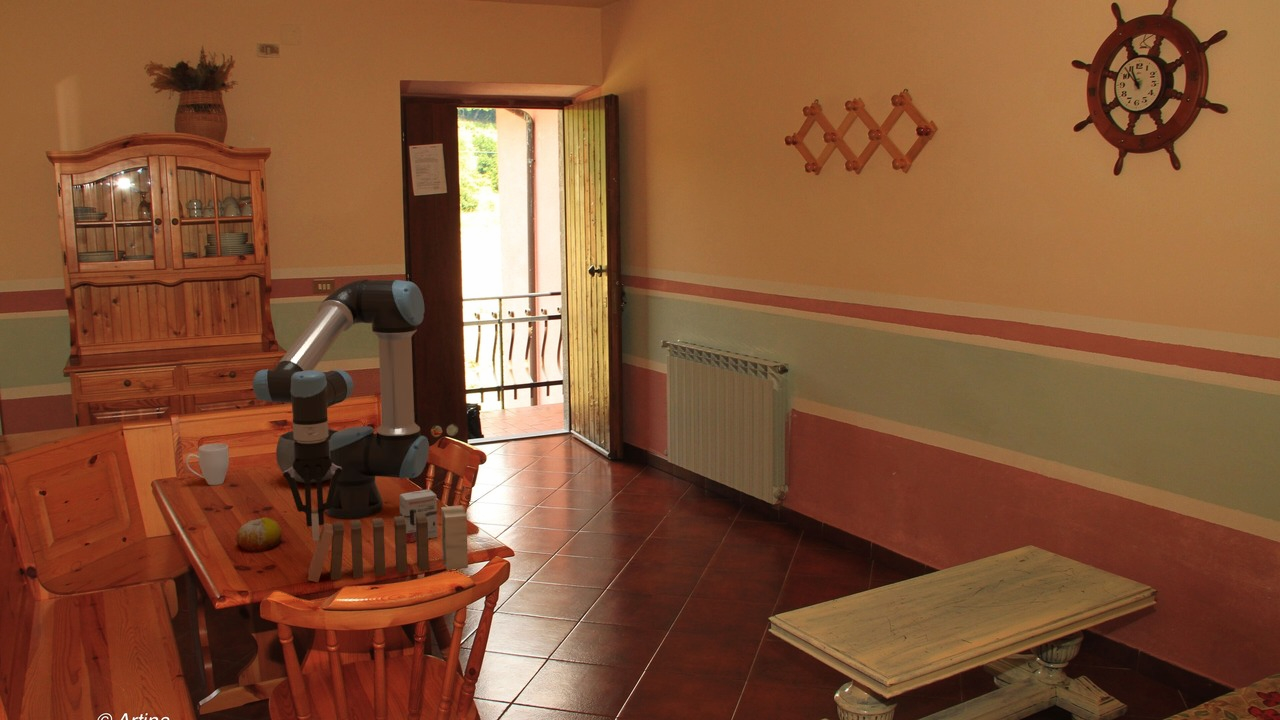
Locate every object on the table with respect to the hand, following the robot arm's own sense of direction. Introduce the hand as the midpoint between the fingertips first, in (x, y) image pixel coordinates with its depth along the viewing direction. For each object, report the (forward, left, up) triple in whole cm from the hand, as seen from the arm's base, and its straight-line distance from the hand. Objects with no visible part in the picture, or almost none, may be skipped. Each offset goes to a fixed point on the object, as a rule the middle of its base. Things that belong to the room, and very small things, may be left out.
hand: (316, 538), depth 228 cm
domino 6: (0, +24, -9) cm, 26 cm away
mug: (-84, -31, -10) cm, 90 cm away
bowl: (-79, -1, -10) cm, 80 cm away
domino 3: (0, +9, -9) cm, 13 cm away
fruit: (-26, -14, -10) cm, 31 cm away
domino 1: (0, -1, -9) cm, 9 cm away
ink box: (-20, +25, -10) cm, 33 cm away
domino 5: (0, +19, -9) cm, 21 cm away
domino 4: (0, +14, -9) cm, 17 cm away
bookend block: (0, +31, -9) cm, 33 cm away
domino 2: (0, +4, -9) cm, 10 cm away
